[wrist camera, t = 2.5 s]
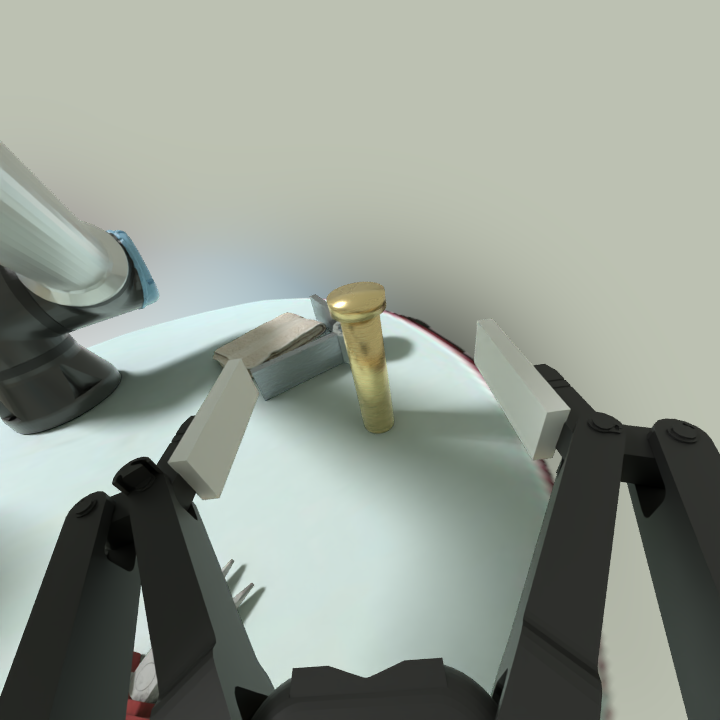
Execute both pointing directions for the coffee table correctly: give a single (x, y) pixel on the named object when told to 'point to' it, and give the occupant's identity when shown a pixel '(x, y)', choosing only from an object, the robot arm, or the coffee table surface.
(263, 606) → the coffee table surface
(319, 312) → the hinge
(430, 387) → the coffee table surface
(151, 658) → the pliers
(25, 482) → the coffee table surface
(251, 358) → the washcloth
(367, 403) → the hinge pin
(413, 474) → the coffee table surface
